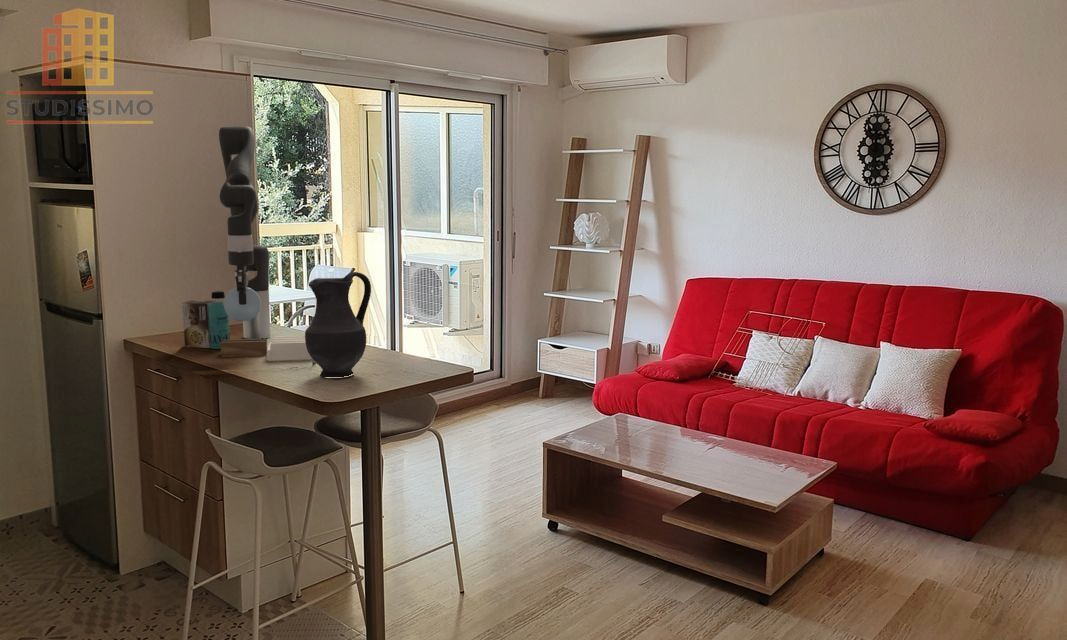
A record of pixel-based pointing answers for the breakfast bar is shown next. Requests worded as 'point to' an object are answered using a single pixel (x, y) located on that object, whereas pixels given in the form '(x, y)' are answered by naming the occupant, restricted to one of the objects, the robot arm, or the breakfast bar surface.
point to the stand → (244, 347)
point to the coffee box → (196, 323)
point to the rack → (288, 349)
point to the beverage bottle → (218, 321)
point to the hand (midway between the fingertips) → (243, 303)
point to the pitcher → (337, 326)
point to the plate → (242, 311)
